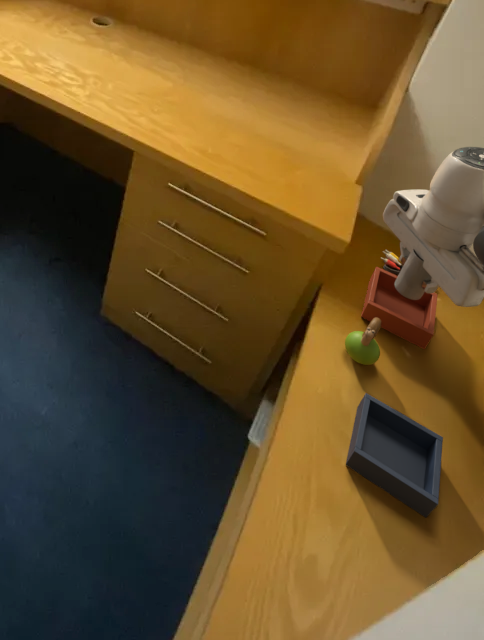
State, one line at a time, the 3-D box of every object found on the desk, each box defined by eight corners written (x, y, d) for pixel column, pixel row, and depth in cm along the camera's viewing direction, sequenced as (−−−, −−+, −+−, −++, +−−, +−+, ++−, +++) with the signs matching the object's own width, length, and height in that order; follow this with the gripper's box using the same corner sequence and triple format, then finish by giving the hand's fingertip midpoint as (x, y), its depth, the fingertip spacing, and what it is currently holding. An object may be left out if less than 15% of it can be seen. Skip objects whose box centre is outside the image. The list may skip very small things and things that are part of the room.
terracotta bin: (369, 280, 108) (376, 266, 106) (429, 308, 103) (437, 294, 100) (360, 317, 101) (368, 302, 99) (424, 349, 96) (433, 335, 93)
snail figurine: (334, 358, 94) (354, 319, 88) (347, 336, 98) (367, 297, 92) (366, 381, 91) (388, 342, 85) (378, 357, 94) (401, 318, 88)
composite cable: (433, 281, 108) (438, 274, 107) (427, 295, 105) (431, 288, 104) (381, 253, 114) (385, 246, 113) (374, 266, 112) (378, 258, 110)
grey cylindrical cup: (421, 287, 99) (442, 251, 94) (421, 304, 96) (443, 268, 91) (394, 275, 101) (413, 240, 96) (393, 292, 98) (412, 257, 93)
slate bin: (357, 406, 87) (365, 392, 85) (431, 451, 81) (443, 437, 79) (345, 465, 80) (354, 451, 78) (426, 518, 74) (438, 504, 72)
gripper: (513, 274, 81) (476, 327, 88) (420, 183, 98) (395, 233, 105) (475, 277, 80) (441, 329, 87) (389, 185, 98) (366, 234, 105)
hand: (415, 275), depth 96 cm, fingers closed on grey cylindrical cup, 4 cm apart
